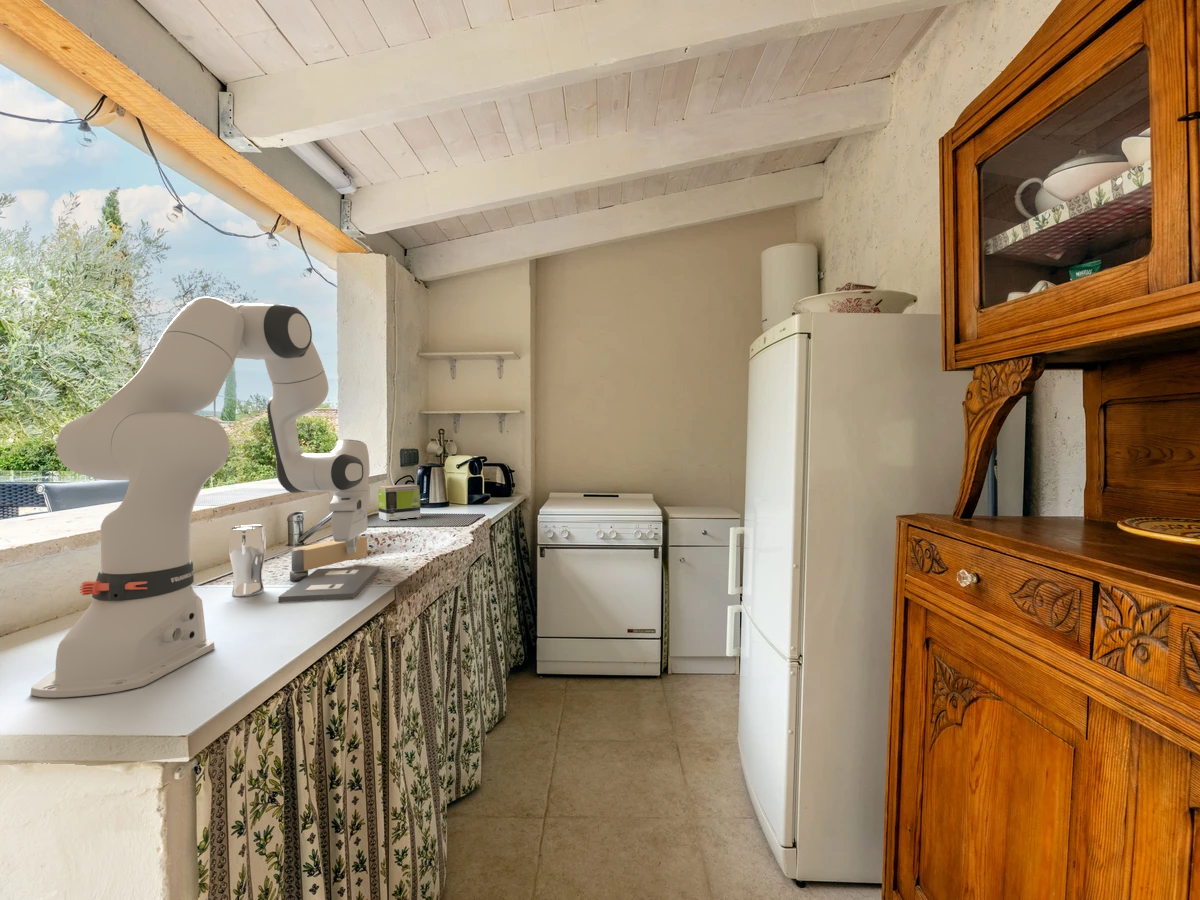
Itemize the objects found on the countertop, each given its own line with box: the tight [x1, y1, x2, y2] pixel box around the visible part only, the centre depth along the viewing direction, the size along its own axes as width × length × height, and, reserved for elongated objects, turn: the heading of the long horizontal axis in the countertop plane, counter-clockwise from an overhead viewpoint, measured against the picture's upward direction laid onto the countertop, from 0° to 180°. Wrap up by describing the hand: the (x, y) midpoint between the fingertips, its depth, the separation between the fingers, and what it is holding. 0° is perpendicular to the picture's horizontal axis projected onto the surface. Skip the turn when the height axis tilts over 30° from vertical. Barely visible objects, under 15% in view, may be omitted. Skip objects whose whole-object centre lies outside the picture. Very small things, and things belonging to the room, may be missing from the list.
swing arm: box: [290, 536, 368, 571], centre depth 144 cm, size 5×21×5 cm, turn 157°
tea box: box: [377, 484, 421, 522], centre depth 241 cm, size 15×10×15 cm
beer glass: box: [228, 524, 267, 598], centre depth 124 cm, size 7×7×15 cm
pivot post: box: [289, 570, 309, 583], centre depth 137 cm, size 4×4×2 cm
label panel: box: [277, 565, 380, 603], centre depth 132 cm, size 26×15×2 cm, turn 10°
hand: (351, 553), depth 146 cm, fingers closed
